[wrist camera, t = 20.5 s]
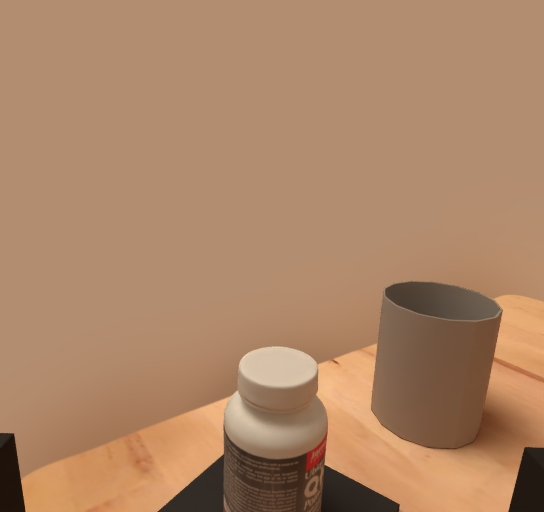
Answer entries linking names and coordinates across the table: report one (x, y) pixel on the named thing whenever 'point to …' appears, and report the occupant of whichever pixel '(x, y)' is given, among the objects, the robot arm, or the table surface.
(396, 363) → the cup
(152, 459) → the table surface
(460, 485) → the table surface
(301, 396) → the pill bottle
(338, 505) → the mat
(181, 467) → the table surface
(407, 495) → the table surface
